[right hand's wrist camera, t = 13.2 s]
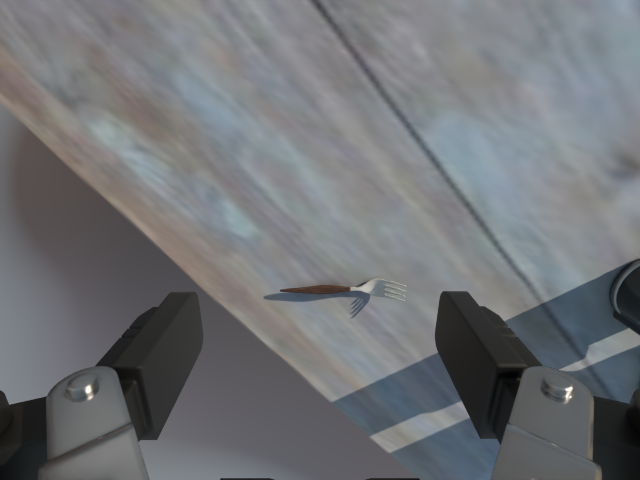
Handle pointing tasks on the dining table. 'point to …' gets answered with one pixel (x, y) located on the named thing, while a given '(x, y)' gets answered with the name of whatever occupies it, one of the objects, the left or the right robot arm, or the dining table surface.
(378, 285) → the fork
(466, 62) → the dining table surface
